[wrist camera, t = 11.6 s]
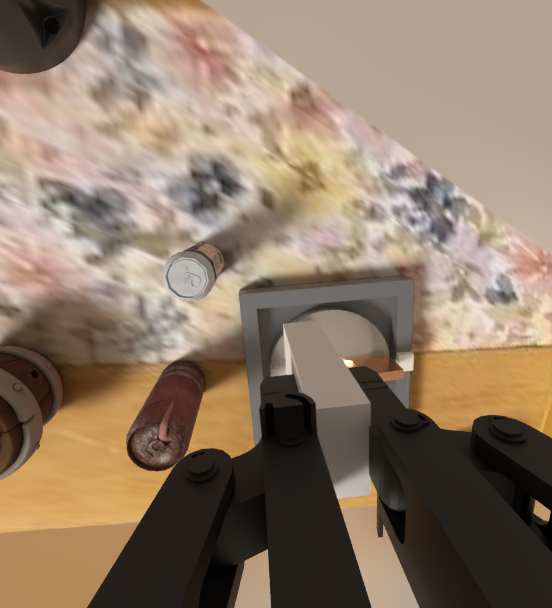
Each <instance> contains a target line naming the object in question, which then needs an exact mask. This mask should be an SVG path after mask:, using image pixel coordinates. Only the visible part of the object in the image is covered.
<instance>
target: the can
mask: <svg viewBox="0 0 552 608" xmlns="http://www.w3.org/2000/svg"><path fill="white" fill-rule="evenodd" d="M204 388H205V377H204V374H203V373H202V371H201V370H200V369H199V368H198V367H197V366H196V365H194V364H191V363H189V362H175V363H173V364H171V365H169V366H168V367H167V368H165V369H164V371H163V372H162V374H161V376H160V377H159V379H158V381H157V383H156V384H155V386H154V388H153V390H152V391H151V393H150V395H149V397H148V398H147V400H146V402H145V403H144V405H143V407H142V409H141V410H140V412H139V414H138V416H137V417H136V419H135V421H134V423H133V424H132V426H131V428H130V430H129V432H128V434H127V440H126V444H127V452H128V456H129V457H130V459H131V460H132V461H133V463H134V464H136V465H137V466H139V467H140V468H142V469H145V470H148V471H163V470H167V469H169V468H171V467H173V466H174V465H175V464H177V463H178V462H179V461H180V460H181V459H182V458H183V457H184V455H185V454H186V452H187V450H188V447H189V443H190V439H191V436H192V432H193V428H194V425H195V421H196V417H197V414H198V410H199V406H200V403H201V399H202V396H203V392H204Z"/></svg>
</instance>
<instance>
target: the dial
mask: <svg viewBox="0 0 552 608" xmlns="http://www.w3.org/2000/svg"><path fill="white" fill-rule="evenodd" d="M306 321H318V323H319V324H320V326H321V328H322V329H323V331H324V332H325V334H326V335H327V337H328V338H329V340H330V341H331V343H332V344H333V346H334V347H335V349H336V351H337V352H338V354H339V355H340V357H341V358H342V360H343V361H344V363H345V364H346V366H347V367H348V368H349V367H358V366H367V367H368V368H370V369H372V370H374V371H376V372H377V373H378V374H379V376H380V377H381V378H382V379H383V382H385V383H386V381H391V380H397V379H404V370H403V369H402V368H401V367H400V366H399V365H398V364H397V363H396V362H395V361H394V360H393V359H392V358H391V357H390V356H389V350H388V346H387V344H386V341H385V339H384V337H383V336H382V334H381V333H380V331H379V330H378V329H377V328H376V327H375V326H374V325H373V324H372V323H371V322H370V321H369V320H367V319H366V318H365V317H363V316H362V315H361V314H359V313H357V312H355V311H353V310H350V309H347V308H342V307H333V306H328V307H320V308H315V309H312V310H309V311H306V312H304V313H302V314H300V315H298V316H297V317H295V318H294V319H293V320H291V321H290V322H289V323H296V322H306ZM269 365H270V376H281V375H287V374H286V359H285V345H284V331H283V329H282V330H281V332H280V333H279V335H278V336H277V338H276V340H275V342H274V344H273V347H272V350H271V354H270V363H269Z"/></svg>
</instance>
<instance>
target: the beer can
mask: <svg viewBox="0 0 552 608" xmlns="http://www.w3.org/2000/svg"><path fill="white" fill-rule="evenodd" d="M223 265H224V260H223V256H222V254H221V252H220V251H219V250H218V249H217V248H216V247H215V246H213V245H211V244H208V243H199V244H196V245H194V246H192V247H191V248H189V249H186V250H184V251H182V252H179V253H177V254H175V255H173V256H172V257H171V258H170V259H169V260H168V261H167V263H166V264H165V266H164V270H163V280H164V283H165V286H166V287H167V289H168V291H169V292H170V293H171V294H172V295H173V296H175V297H177V298H179V299H181V300H184V301H196V300H199V299H201V298H203V297H205V296H206V295H207V294H208V293H209V292H210V291H211V289H212V287H213V285H214V283H215V281H216V280H217V278H218V276H219V274H220V273H221V271H222V269H223Z"/></svg>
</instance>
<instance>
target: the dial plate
mask: <svg viewBox="0 0 552 608" xmlns="http://www.w3.org/2000/svg"><path fill="white" fill-rule="evenodd" d="M413 288H414V279H412V278H409V277H406V276H403V275H401V276H390V277H378V278H367V279H355V280H344V281H332V282H321V283H309V284H298V285H286V286H275V287H263V288H252V289H241V290H240V291H239V300H240V310H241V319H242V329H243V338H244V348H245V357H246V367H247V376H248V385H249V395H250V404H251V414H252V423H253V433H254V442H255V446H256V445H257V444H258V443H259V441H260V439H261V437H262V434H261V424H260V414H259V408H260V404H261V395H260V384H261V383H262V381H263V380H264V379H265V377H271V376H270V365H269V363H270V354H271V350H272V347H273V344H274V342H275V340H276V338H277V336H278V335H279V333H280V332H281V330H282V329H283V324H285V323H289V322H290V321H291V320H293V319H294V318H295V317H297V316H298V315H300V314H302V313H304V312H306V311H309V310H312V309H315V308H320V307H328V306H333V307H342V308H347V309H350V310H353V311H355V312H357V313H359V314H361V315H362V316H363V317H365V318H366V319H367V320H369V321H370V322H371V323H372V324H373V325H374V326H375V327H376V328H377V329H378V330H379V331H380V333H381V334H382V336H383V337H384V339H385V341H386V344H387V346H388V350H389V356H390V357H391V358H392V359H393V360H394V361H395V362H396V363H397V364H398V365H399V366H400V367H401V368H402V369H403V370H404V379H397V380H391V381H386V384H387V385H388V386H389V388H390V389H391V390H392V391H393V393H394V394H395V395H396V396H397V397H398V399H399V400H400V401H401V402H402V404H403V405H404V406H405V407H406V408H408V409H409V390H410V371H412V370H413V364H414V353H412V352H411V339H412V314H413Z"/></svg>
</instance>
